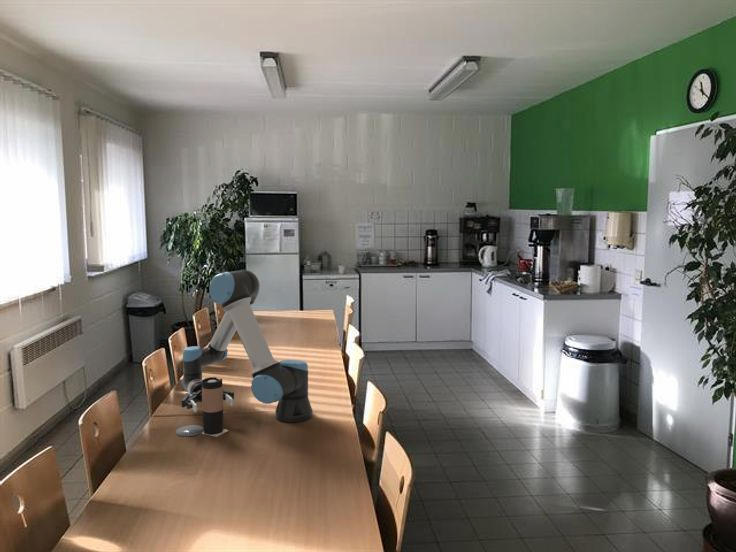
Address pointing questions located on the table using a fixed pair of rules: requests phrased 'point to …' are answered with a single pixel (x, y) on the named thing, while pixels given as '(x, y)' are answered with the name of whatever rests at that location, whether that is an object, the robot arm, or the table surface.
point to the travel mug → (212, 405)
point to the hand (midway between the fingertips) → (214, 405)
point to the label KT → (218, 433)
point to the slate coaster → (189, 430)
